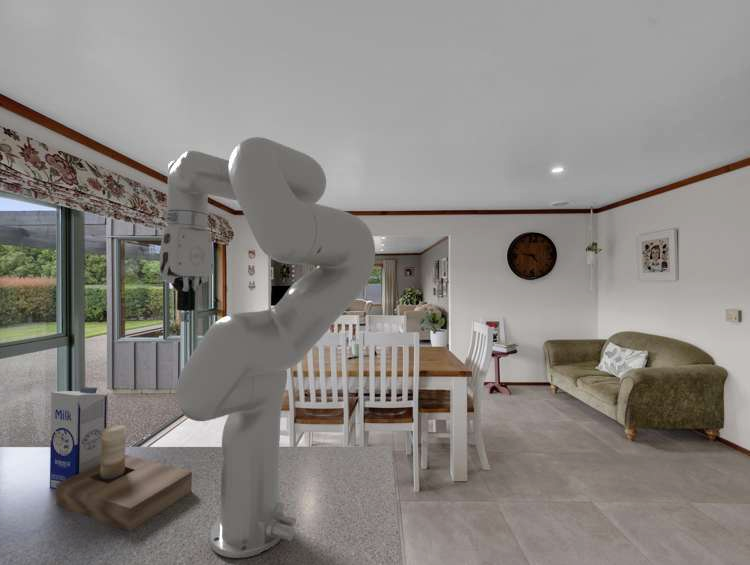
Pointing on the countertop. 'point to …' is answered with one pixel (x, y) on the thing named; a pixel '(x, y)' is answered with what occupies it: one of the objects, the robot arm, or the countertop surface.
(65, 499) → the walnut board
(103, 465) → the maple peg
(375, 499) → the countertop surface
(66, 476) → the milk carton
